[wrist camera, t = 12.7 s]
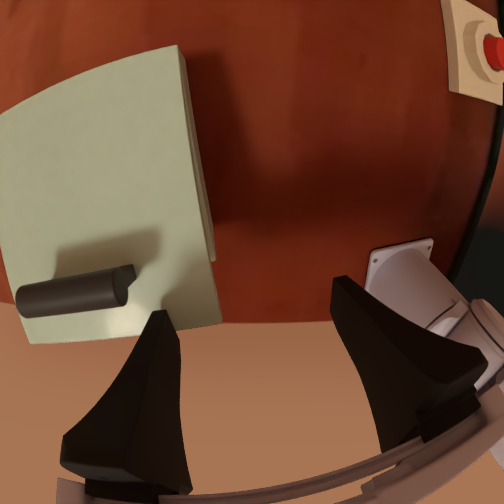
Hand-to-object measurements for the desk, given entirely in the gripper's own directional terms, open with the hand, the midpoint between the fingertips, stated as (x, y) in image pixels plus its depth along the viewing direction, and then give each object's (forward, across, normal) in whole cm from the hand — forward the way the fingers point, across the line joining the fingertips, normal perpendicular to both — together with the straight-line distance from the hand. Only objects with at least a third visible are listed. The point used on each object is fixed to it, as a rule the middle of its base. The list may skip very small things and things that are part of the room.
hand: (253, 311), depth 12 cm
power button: (+8, -24, -14) cm, 29 cm away
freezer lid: (+3, +7, -5) cm, 9 cm away
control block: (+10, -24, -14) cm, 30 cm away
